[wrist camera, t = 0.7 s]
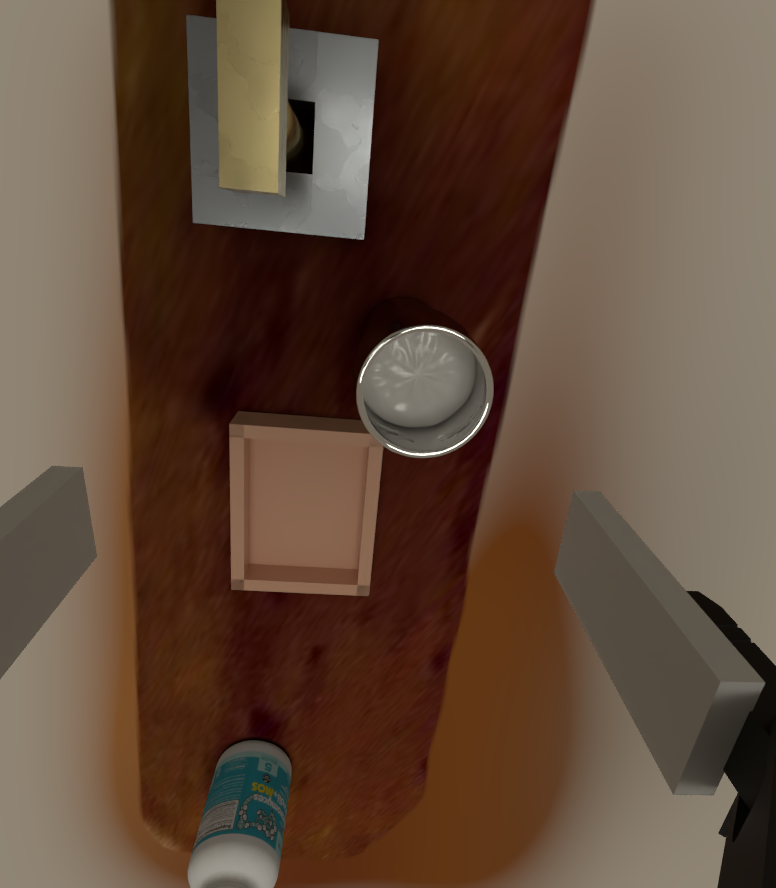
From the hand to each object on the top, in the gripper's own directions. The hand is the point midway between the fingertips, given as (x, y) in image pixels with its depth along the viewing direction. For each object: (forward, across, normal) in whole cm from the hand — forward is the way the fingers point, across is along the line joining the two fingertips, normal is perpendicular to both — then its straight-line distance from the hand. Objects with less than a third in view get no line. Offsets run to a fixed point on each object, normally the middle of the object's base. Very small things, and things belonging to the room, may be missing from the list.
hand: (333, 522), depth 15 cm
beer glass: (+27, +4, 0) cm, 27 cm away
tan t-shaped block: (+27, -4, +12) cm, 29 cm away
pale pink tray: (+26, -3, -14) cm, 29 cm away
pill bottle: (+25, -8, -43) cm, 51 cm away
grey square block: (+27, -4, +12) cm, 29 cm away
